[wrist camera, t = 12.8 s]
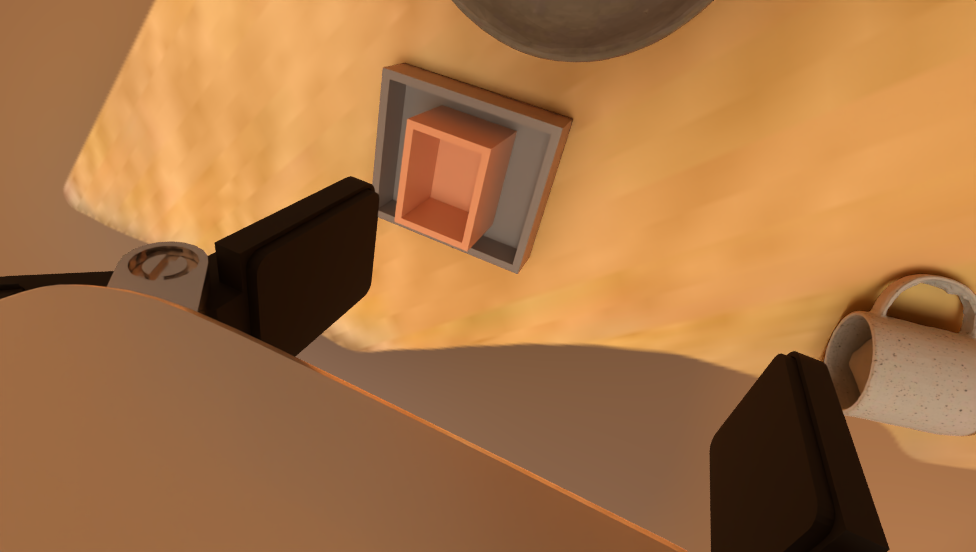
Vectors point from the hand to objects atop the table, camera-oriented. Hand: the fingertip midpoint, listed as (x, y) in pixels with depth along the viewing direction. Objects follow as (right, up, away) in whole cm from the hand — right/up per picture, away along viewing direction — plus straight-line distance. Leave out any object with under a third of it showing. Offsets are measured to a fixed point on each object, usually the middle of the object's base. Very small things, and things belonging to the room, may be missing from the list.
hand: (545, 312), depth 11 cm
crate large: (-3, +11, +33) cm, 34 cm away
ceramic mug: (+30, -3, +26) cm, 40 cm away
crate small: (-3, +11, +32) cm, 34 cm away
